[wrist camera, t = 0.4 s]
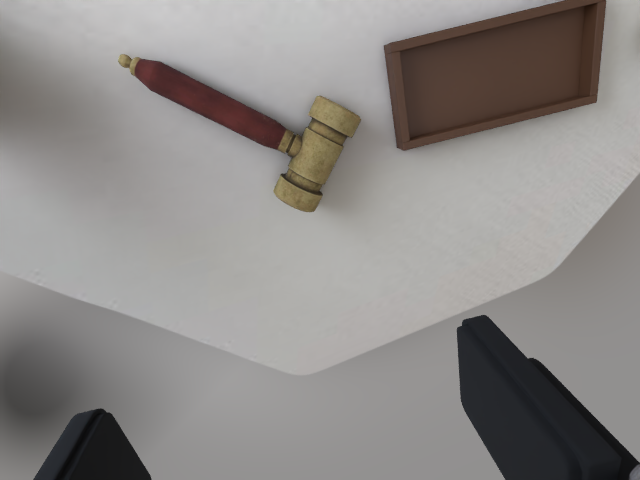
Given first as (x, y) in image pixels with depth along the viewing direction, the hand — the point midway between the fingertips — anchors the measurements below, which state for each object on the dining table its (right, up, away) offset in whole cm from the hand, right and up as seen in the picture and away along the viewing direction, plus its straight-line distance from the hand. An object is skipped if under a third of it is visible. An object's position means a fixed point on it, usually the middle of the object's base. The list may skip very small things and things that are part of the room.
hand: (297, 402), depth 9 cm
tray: (+17, +21, +26) cm, 37 cm away
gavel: (-7, +16, +25) cm, 30 cm away
